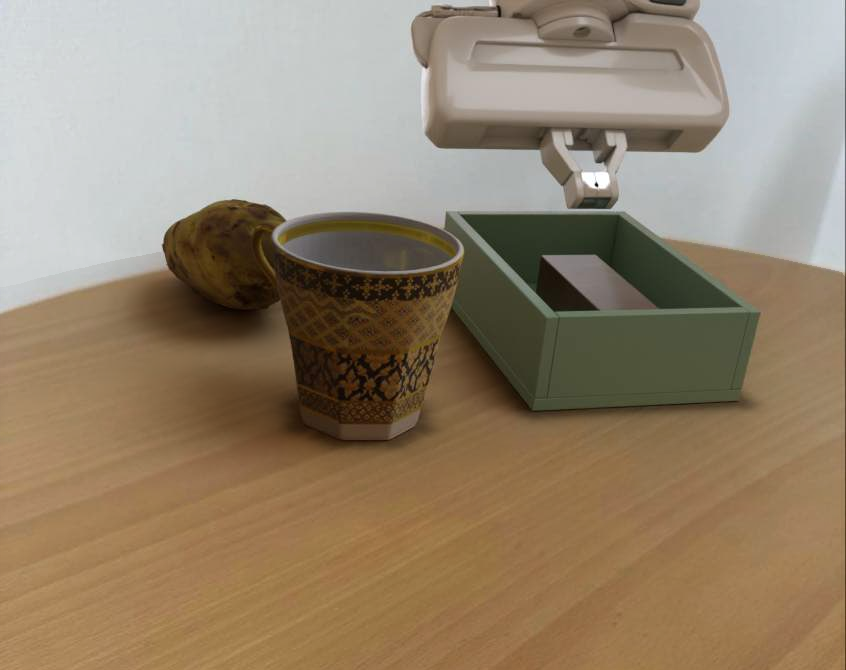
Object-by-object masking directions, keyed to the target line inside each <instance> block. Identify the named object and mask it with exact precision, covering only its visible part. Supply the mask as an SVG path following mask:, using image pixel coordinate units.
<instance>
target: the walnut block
mask: <svg viewBox="0 0 846 670" xmlns="http://www.w3.org/2000/svg"><path fill="white" fill-rule="evenodd" d="M536 294H537V295H538V296H539V297H540V298H541V299H542V300H543V301H544V302H545V303H546V304H547V305H548V306H549V307H550V308H551V309H552V310H553V312H554V313H555V312H564V311H605V310H646V309H659V308H658V307H657V306H655V305H654V304H653V303H652V302H651V301H649V300H648V299H647V298H646V297H645V296H644V295H642V294H641V293H640V292H639V291H638V290H637V289H635V288H634V287H633V286H632V285H631V284H630V283H628V282H627V281H626V280H625V279H624V278H622V277H621V276H620V275H619V274H618V273H617V272H615V271H614V270H613V269H612V268H611V267H610V266H608V265H607V264H606V263H605V262H604V261H602V260H601V259H600V258H599V257H598V256H597V255H542V256H541V260H540V267H539V274H538V281H537V288H536Z"/></svg>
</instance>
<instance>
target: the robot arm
mask: <svg viewBox="0 0 846 670" xmlns="http://www.w3.org/2000/svg"><path fill="white" fill-rule="evenodd" d="M488 2H489V5H462V6H461V5H452V4H449V3H435V4H431V5H430V7H429V9H427V10H423V11H421V12H420V13H418V14H417V15H416V16H415V17H414V18H413V20H412V21H411V24H410V37H411V44H412V45H411V46H412V51H413V55H414V57H415V59H416V61H417V62H418V63H419V65H420V66H422V70H421V82H420V107H421V108H420V109H421V110H420V111H421V123H422V131H423V134H424V136H425V137H427V139H428V140H429V141H430V142H431V143H432V144H433V145H434V146H435V147H436V148H438V149H443V150H445V149H446V150H502V151H503V150H507V151H508V150H510V151H511V150H513V151H539V152H540V158H541V163H542V165H543V166H544V167H545V169H546V170H547V171H548V172H549V173H550V175H551V176H552V177H553V178H554V179H555V181H556V182H557V183H558V184H559V185H560V186H561V187H563V194H564V199H565V204H566V205H565V206H566V208H567V210H612V208H613V207H614V206H615V205H616V203H617V202H618V200H619V197H620V191H619V185H618V178H617V173H618V172H619V168H620V166H621V164H622V161H623V159H624V157H625V155H626V152H639V153H640V152H641V153H690V154H695V153H700V152H702V151H704V150H705V149H706V148H707V147H708V146H709V145H710V144H711V143H712V142H713V141H714V140H715V139H716V137H717V136H718V135H719V134H720V132H721V131H722V130H723V128H724V127H725V125H726V123H727V121H728V119H729V116H730V101H729V97H728V91H727V86H726V81H725V78H724V75H723V71H722V67H721V63H720V60H719V56H718V54H717V50H716V47H715V45H714V43H713V40H712V38H711V37H710V35H709V33H708V32H707V31H706V29H705V28H704V27H702V26H701V24H699V23H697V22H696V21H695V18H696V16H697V14H698V12H699V10H700V7H701V0H488ZM572 151H573V152H592V155H593V161H594V163H595V164H602V163H603V164H602V167H601V169H600V171H583V169H582V168H581V166H580V165H579V163H578V162H577V161H576V159H575V157H574V156H573V155H572V154H571V152H572Z"/></svg>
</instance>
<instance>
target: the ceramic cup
mask: <svg viewBox="0 0 846 670" xmlns="http://www.w3.org/2000/svg"><path fill="white" fill-rule="evenodd" d="M265 231H267V232H269V233H271V237H270V238H271V248H272V256H273V264H274V270H275V271H274V270H273V269H272V267H271V266H270V265H269V263H268V262H267V260H266V258H265V256H264V254H263V251H262V247H261V239H262V235H263V233H264V232H265ZM251 244H252V251H253V255H254V257H255V260H256V262H257V264H258V265H259V267H260V269H261V270H262V271H263V273H264V274H265V275H266V277H267V278H268V279H269V281H270V282H271V283H272V284H273V286H274V287H275V289H276V290H277V292H278V293H279V297H280V300H279V301H280V306H281V309H282V313H283V316H284V319H285V323H286V326H287V330H288V336H289V342H290V348H291V353H292V360H293V361H292V362H293V367H294V374H295V383H296V392H297V398H298V403H299V410H300V414H301V419H302V421H303V422H304V425H306V426H308V427H310V428H312V429H315V430H316V431H320V432H322V433H324V434H327V435H329V436H332V437H334V438H336V439H339V440H341V441H389V440H392V439H393V438H395V437H398V436H400V435H401V434H403V433H405V432H407V431H408V430H411V429H412V428H414V427H415V426H416V424H417V422H418V420H419V417H420V414H421V410H422V407H423V405H424V400H425V396H426V393H427V389H428V388H427V387H428V385H429V381H430V378H431V374H432V370H433V367H434V364H435V360H436V356H437V353H438V349H439V346H440V345H439V344H440V342H441V337H442V334H443V331H444V329H445V327H446V324H447V320H448V318H449V315H450V312H451V309H452V308H451V305H452V301H453V298H454V294H455V290H456V287H457V283H458V279H459V275H460V270H461V265H462V261H463V256H464V248H463V245H462V244H461V242H460V241H459V240H458V239H457V238H456V237H455V236H453V235H452V234H450V233H449V232H447V231H445V230H444V228H441V227H438V226H435V225H433V224H431V223H427V222H424V221H421V220H418V219H414V218H409V217H404V216H399V215H393V214H386V213H379V212H378V213H377V212H367V211H366V212H365V211H364V212H363V211H329V212H318V213H312V214H305V215H301V216H298V217H294V218H291V219H288V220H286V222H284V223H283V222H279V221H264V222H262V223H260V224H258V226H257V227H256V228H255V230H254V232H253V235H252V241H251Z"/></svg>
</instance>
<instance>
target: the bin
mask: <svg viewBox="0 0 846 670" xmlns="http://www.w3.org/2000/svg"><path fill="white" fill-rule="evenodd" d="M443 230H445V231H447V232H449V233H450V234H452V235H453V236H455V237H456V238H457V239H458V240H459V241H460V242H461V244H462V245H463V248H464V256H463V261H462V265H461V270H460V275H459V279H458V283H457V287H456V290H455V294H454V298H453V301H452V305H451V309H452V311H454V313H455V315H456V316H457V317H458V318H459V319H460V321H461V322H462V323H463V325H464V326H465V327H466V328H467V330H468V331H469V332H470V333H471V334H472V336H473V337H474V338H475V339H476V341H477V342H478V343H479V345H480V346H481V347H482V348H483V350H484V352H486V354H487V355H488V356H489V358H490V359H491V360H492V361H493V363H494V364H495V365H496V366H497V367H498V369H499V370H500V372H501V373H502V374H503V376H505V378H506V379H507V380H508V382H509V383H510V384H511V386H512V387H513V388H514V389H515V391H516V392H517V393H518V395H519V396H520V397H521V398H522V399H523V401H524V402H525V403H526V404H527V406H528V407H529V408H530V410H531V411H532V412H534V411H535V412H537V411H538V412H539V411H540V412H541V411H559V410H578V409H579V410H580V409H598V408H599V409H601V408H618V407H620V408H621V407H622V408H623V407H640V406H641V407H643V406H658V405H659V406H663V405H680V404H683V405H684V404H700V403H701V404H702V403H722V402H724V403H725V402H739V401H740V398H741V394H742V389H743V385H744V381H745V378H746V373H747V369H748V366H749V361H750V357H751V354H752V350H753V345H754V341H755V337H756V333H757V329H758V326H759V321H760V317H761V313H762V312H761V310H759V309H758V308H757V307H755V306H754V305H752V304H751V303H750V302H749V301H747V300H746V299H744V298H743V297H742V296H740V295H739V294H737V293H736V292H735V291H733V290H732V289H730V288H729V287H728V286H726V285H725V284H724V283H722V281H720V280H719V279H718V278H716V277H714V276H713V275H712V274H710V273H709V272H708V271H706V270H705V269H703V268H702V267H701V266H700V265H698V264H697V263H696V262H694V261H693V260H691V259H690V258H688V257H687V255H685V254H683V253H682V252H681V251H679V250H677V248H675V247H674V246H672V245H671V244H669V243H668V242H667V241H666V240H664V239H663V238H662V237H660V236H659V235H657V234H656V233H655V232H653V231H652V230H651V229H649V228H648V227H647V226H645V225H644V224H642V223H641V222H639V221H638V220H637V219H636V218H634V217H633V216H631V215H630V214H629V213H627V212H626V211H624V210H623V211H622V210H620V211H619V210H618V211H617V210H616V211H614V210H612V211H609V210H608V211H607V210H605V211H603V210H599V211H597V210H596V211H595V210H593V211H592V210H591V211H588V210H587V211H586V210H583V211H581V210H577V211H576V210H575V211H574V210H573V211H571V210H570V211H569V210H565V211H564V210H563V211H562V210H559V211H557V210H555V211H554V210H553V211H552V210H545V211H544V210H522V211H521V210H457V211H456V210H448V211H447V210H446V211H445V217H444V228H443ZM542 255H597V256H598V257H599V258H600V259H601V260H602V261H604V262H605V263H606V264H607V265H608V266H610V267H611V268H612V269H613V270H614V271H615V272H617V273H618V274H619V275H620V276H621V277H622V278H624V279H625V280H626V281H627V282H628V283H630V284H631V285H632V286H633V287H634V288H635V289H637V290H638V291H639V292H640V293H641V294H642V295H644V296H645V297H646V298H647V299H648V300H649V301H651V302H652V303H653V304H654V305H655V306H657V307H658V308H659V309H646V310H605V311H564V312H555V313H554V312H553V310H552V309H551V308H550V307H549V306H548V305H547V304H546V303H545V302H544V301H543V300H542V299H541V298H540V297H539V296H538V295H537V294H536V288H537V281H538V274H539V267H540V260H541V256H542Z"/></svg>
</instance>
